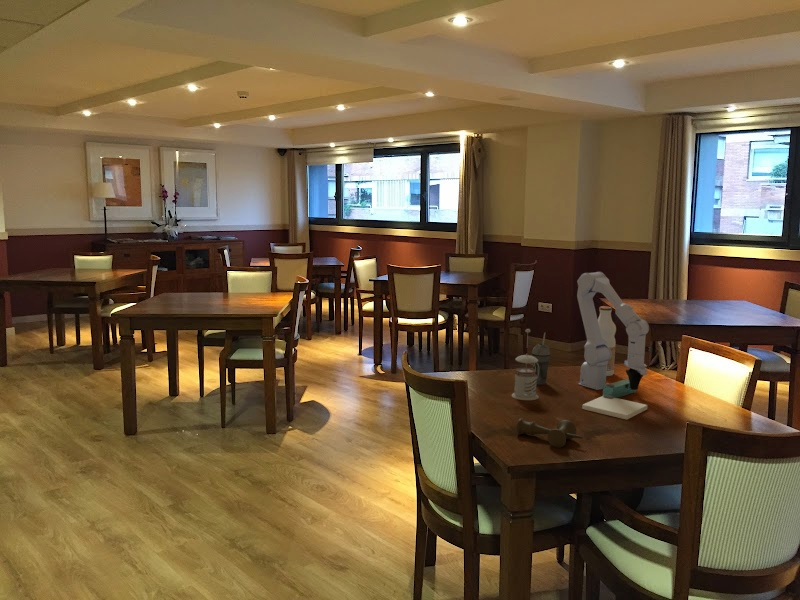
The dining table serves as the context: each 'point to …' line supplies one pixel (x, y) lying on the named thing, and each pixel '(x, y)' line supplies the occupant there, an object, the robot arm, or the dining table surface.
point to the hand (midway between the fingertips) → (634, 389)
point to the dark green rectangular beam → (618, 389)
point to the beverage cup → (541, 361)
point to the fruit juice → (608, 334)
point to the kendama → (549, 431)
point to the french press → (525, 378)
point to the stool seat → (614, 407)
